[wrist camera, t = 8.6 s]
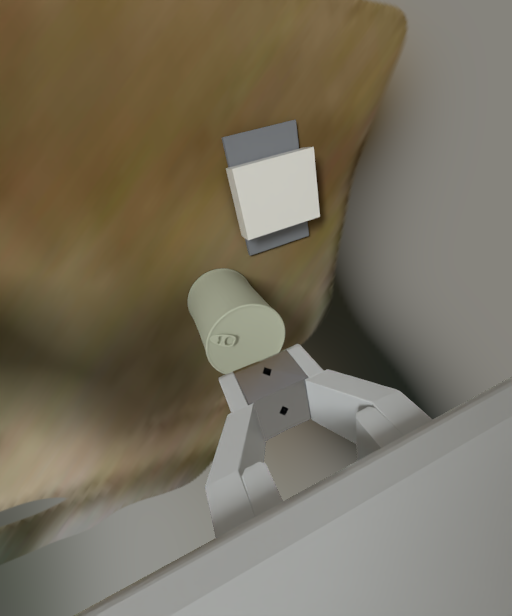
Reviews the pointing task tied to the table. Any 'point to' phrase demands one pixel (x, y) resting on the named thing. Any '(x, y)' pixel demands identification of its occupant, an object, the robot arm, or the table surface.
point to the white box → (275, 192)
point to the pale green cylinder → (233, 320)
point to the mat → (258, 147)
